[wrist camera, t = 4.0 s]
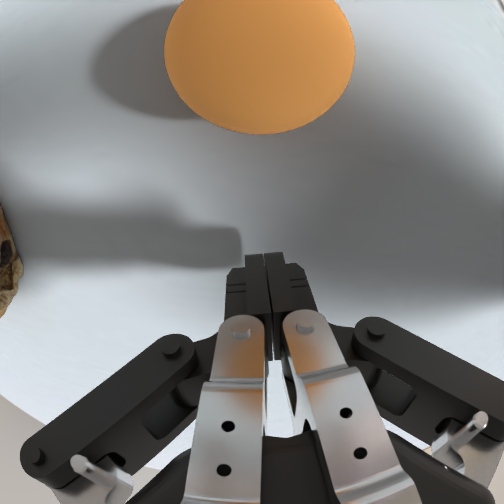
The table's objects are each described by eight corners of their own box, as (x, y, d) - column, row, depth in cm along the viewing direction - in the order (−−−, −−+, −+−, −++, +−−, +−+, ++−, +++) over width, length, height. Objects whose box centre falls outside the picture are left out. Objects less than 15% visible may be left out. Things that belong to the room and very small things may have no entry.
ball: (326, 127, 10) (392, 149, 5) (189, 133, 10) (146, 158, 5) (319, 7, 7) (374, -48, 3) (181, 11, 7) (138, -48, 3)
